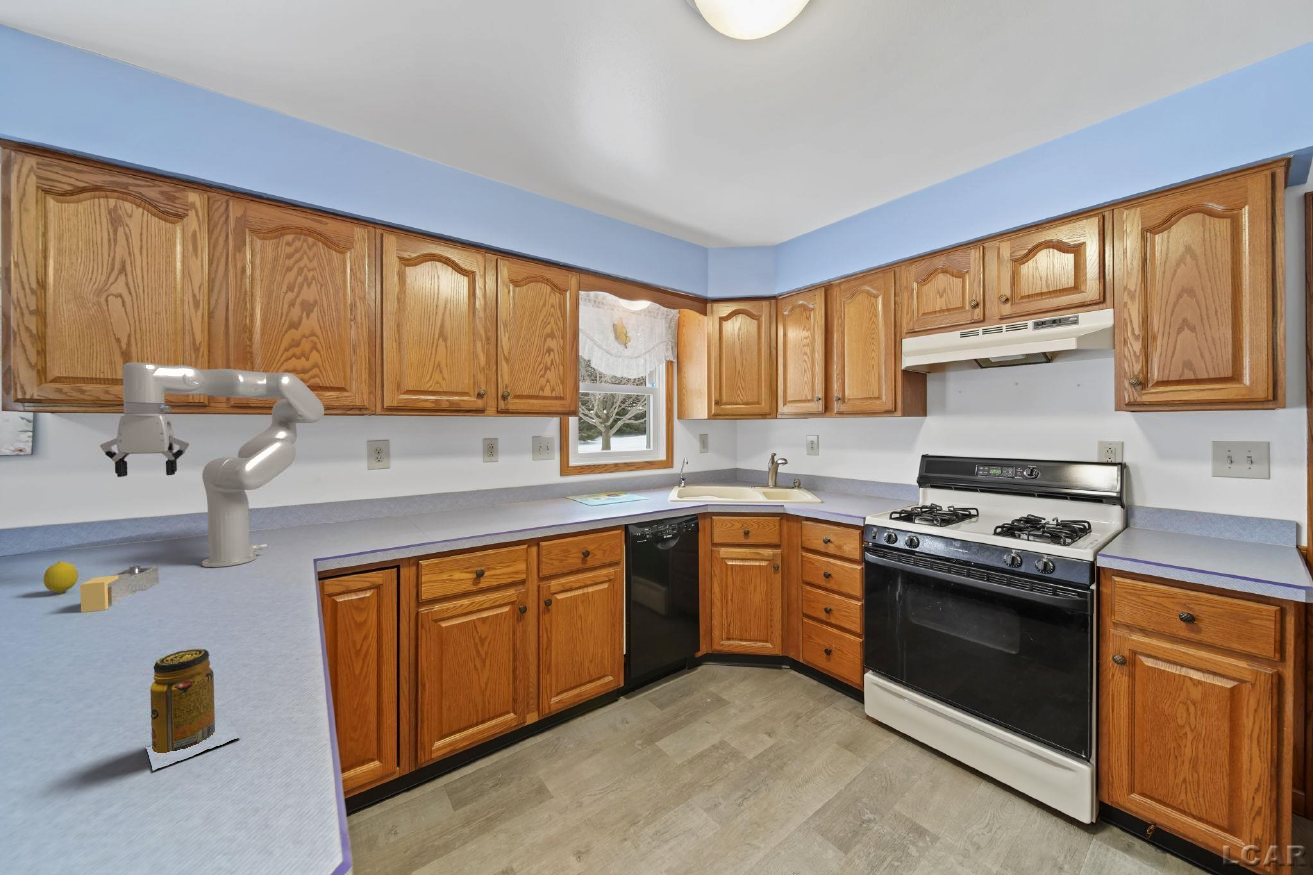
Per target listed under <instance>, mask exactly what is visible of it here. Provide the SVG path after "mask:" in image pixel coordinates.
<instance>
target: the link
mask: <svg viewBox="0 0 1313 875" xmlns="http://www.w3.org/2000/svg"><path fill="white" fill-rule="evenodd" d="M110 576H118V577H119V578H118V579H116V580H114V581H112V582H110V583H108V584H107V585H108V607H110V606H111V607H112V606H114V605H116V604H118V603H119V602H121V601H123V600H125V599H126V598H128V597H130V596H131V595H133V594H135V593H136V592H141V591H147V590H149V589H151V588H152V587H154V586H155V585H157V584H159V582H160V581H159V580H160V578H159V565H158V566H147V567H146V566H144V567H140V573H131V574H129V568H124V569H122V570H120V571H118V572H115V573H114V574H111V575H110Z"/></svg>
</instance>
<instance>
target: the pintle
mask: <svg viewBox="0 0 1313 875" xmlns="http://www.w3.org/2000/svg"><path fill="white" fill-rule="evenodd" d="M140 568H141V565H132V566H129V567H128V569H129V574H131V573H140Z"/></svg>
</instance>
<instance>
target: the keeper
mask: <svg viewBox="0 0 1313 875" xmlns="http://www.w3.org/2000/svg"><path fill="white" fill-rule="evenodd" d="M118 578H119V577H118V576H111V575H108V576H97V577H96V576H95V577H93V578H91V579H89V580H87V581H85V582H83V583H81V584H79V585H80V586H79V588H80V612H81V613H88V612H98V611H106V610H108V609H109V606H108V585H107V584H108V583H110V582H112V581H114V580H116V579H118Z"/></svg>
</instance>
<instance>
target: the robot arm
mask: <svg viewBox="0 0 1313 875" xmlns="http://www.w3.org/2000/svg"><path fill="white" fill-rule="evenodd" d="M122 383H123V384H122V385H123V386H122V388H123V415H121V416H120V418H119V422H118V427H117V434H116V437H115V438H114V439H111V440H108V441H106V442H103V443H102V444H100V445H99V447H100V448H101V450H102V451H103V452H104V454H105V456H107V457H108V458H109V459H111V461H112V462H114V471H115V474H116V477H117V478H123V477H127V476H128V461H127V460H125V459H126V458H127V457H128V456H129V455H135V454H136V455H137V454H139V455H140V454H143V455H146V454H147V455H148V454H162V455H163V456H164V457H165V458H167V460H166V461H165V476H174V475H175V474H176V473H177V471H178V466H177V465H178V464H177V463H178V462H177V461H178V460H179V458H180V457H182V456H183V455H185V453H186V451H187V449H188V448H189V447H190V444H189V442H186V441H184V440H181V439H179V438H176V437H175V436H174V428H173V424H172V420H171V418H170V415H166V413H167V412H171V411H172V407H171V405H167V404H166V403H165V394H173V395H190V396H191V395H193V396H209V397H217V398H239V399H241V398H244V399H260V400H261V399H262V400H278V401H277V402H275V404H274V405H273V407H272V411H271V424H270V426H269V427H268V428H267V429H265V430H264V431H262V432H261V433H259V434H258V435H255V437H252V438H251V439H250V440H248V441H247V442H245V443H244V444H243V445H242V446H241V447H240V448H239V450H238V452H237V457H230V456H229V457H227V456H226V457H219V458H215V459H212V460H210V461H209V462H208V463H207V464H206V465H205V466H204V467H203V470H202V473H201V474H202V481H203V486H204V489H205V493H206V494H205V495H206V502H207V534H208V535H207V538H208V540H207V541H208V542H207V543H208V558H206V559H203V560H202V562H201V566H202V567H204V568H205V567H206V568H221V567H230V566H236V565H237V566H238V565H240V564H241V565H242V564H246V563H249V562H253V561H254V560H256V559H257V554H256V552H257V551H262V550H266V549H268V545H267V544H268V543H265V542H262V543H258V544H257V543H255V544H254V543H250V513H249V506H250V505H249V498H248V495H247V493H246V491H251V490H257V489H259V488H261V487H264V486H265V485H266V484H268V483H269V482H271V481H273V479H274V478H276V477H277V476H279V475H280V474H281V473H283V472H284V471H285V470H286V469H288V468H289V467H290V466H291V465H292V464H293V462H294V460H295V459H296V454H297V453H296V452H297V451H296V446H295V442H296V440H297V435H298V434H297V424H313V423H317V422H319V421H321V420H322V419H323V417H324V415H325V406H324V404H323V403H322V401H321V400H320V399H319V397H317V395H316V394H314V392H313V391H312V390H311V388H309V387H308V386H307V385H306V384H305V383H304V382H303V381H302V380H301V379H300V378H299V377H298V376H296V375H294V374H293V373H289V372H261V371H254V370H253V371H252V370H251V371H250V370H241V369H233V368H215V369H214V368H213V369H212V368H211V369H210V368H209V369H197V368H195V367H193V366H190V365H185V364H178V365H176V364H175V365H166V364H165V365H162V364H157V363H152V362H139V361H138V362H127V363H124V365H123V366H122ZM176 445H177V446H179V447H178V449H177V450H176V451H175V446H176ZM113 446H116V448H117V451H118V452H116V451H114V450H113V448H112V447H113ZM174 451H175V452H174Z"/></svg>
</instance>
